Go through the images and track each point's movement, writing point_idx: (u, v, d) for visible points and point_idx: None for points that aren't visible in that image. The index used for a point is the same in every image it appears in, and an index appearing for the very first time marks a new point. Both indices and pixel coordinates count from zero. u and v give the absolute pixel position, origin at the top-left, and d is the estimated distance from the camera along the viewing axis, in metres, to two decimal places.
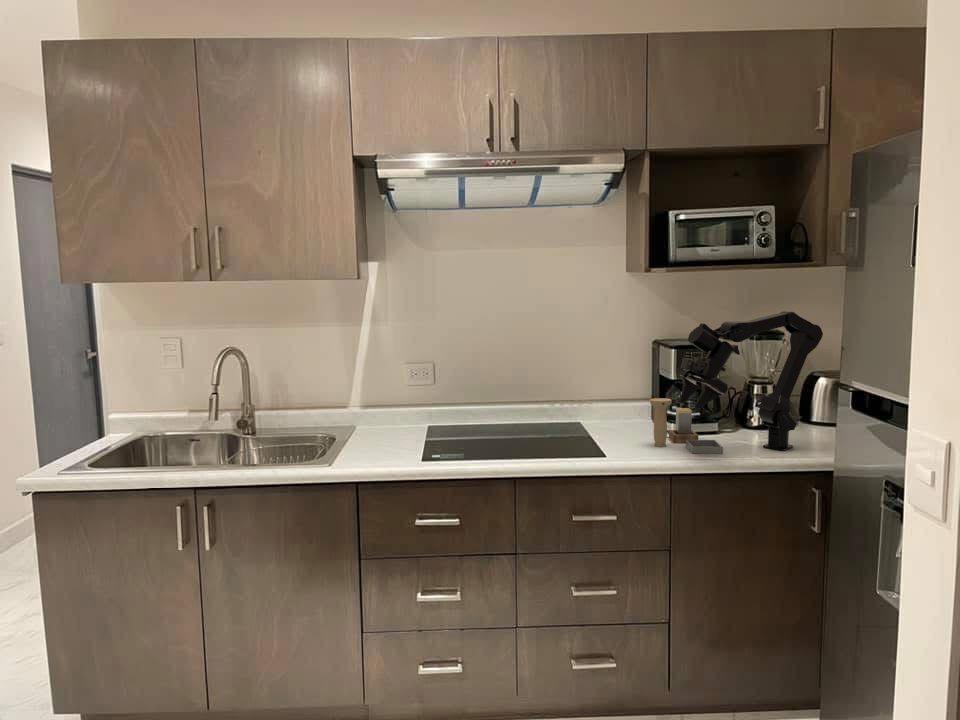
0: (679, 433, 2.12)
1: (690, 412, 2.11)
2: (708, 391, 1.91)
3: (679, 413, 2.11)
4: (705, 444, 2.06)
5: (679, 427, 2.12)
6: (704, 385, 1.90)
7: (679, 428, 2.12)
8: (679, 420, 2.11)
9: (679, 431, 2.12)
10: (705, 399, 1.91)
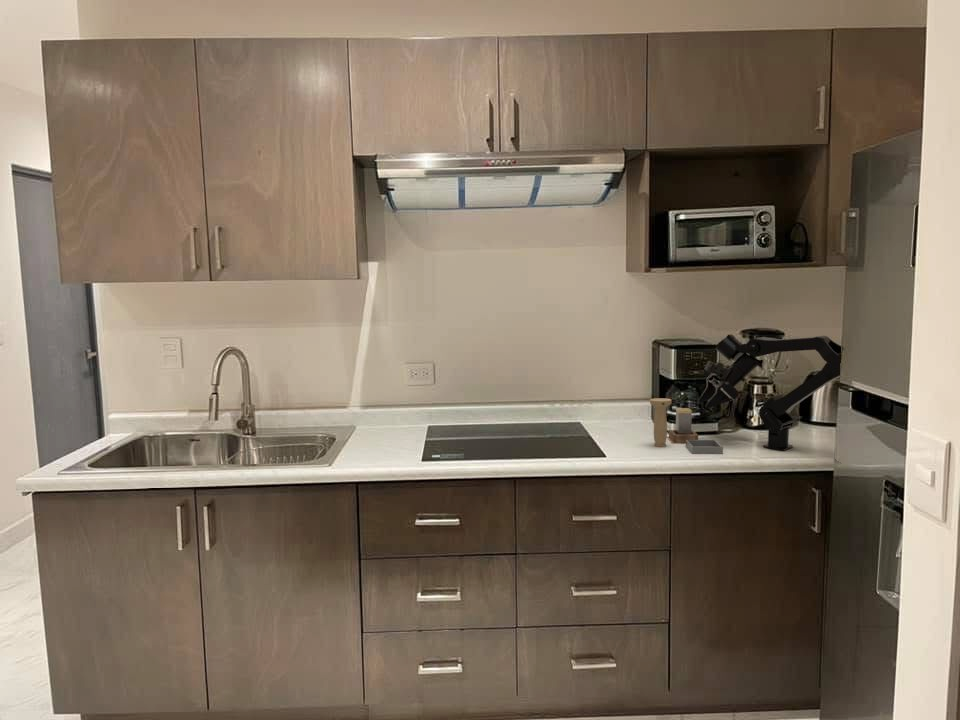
0: (679, 433, 2.12)
1: (690, 412, 2.11)
2: (720, 394, 2.06)
3: (679, 413, 2.11)
4: (705, 444, 2.06)
5: (679, 427, 2.12)
6: (717, 387, 2.05)
7: (679, 428, 2.12)
8: (679, 420, 2.11)
9: (679, 431, 2.12)
10: (716, 401, 2.07)
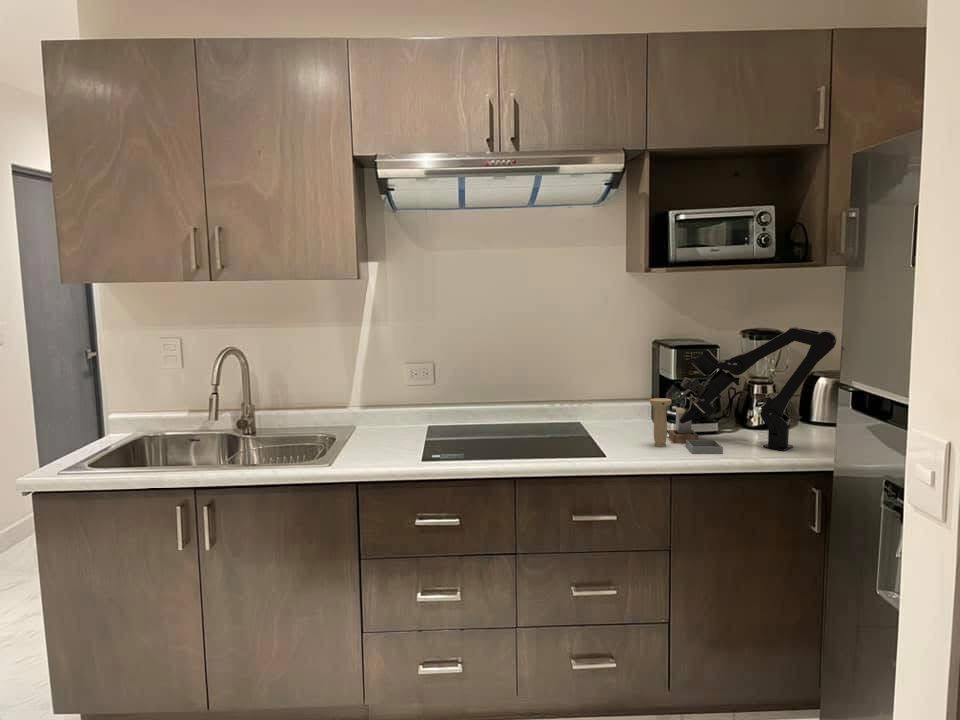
0: (679, 433, 2.12)
1: None
2: (695, 409, 2.09)
3: (679, 413, 2.11)
4: (705, 444, 2.06)
5: (679, 427, 2.12)
6: (691, 402, 2.08)
7: (679, 428, 2.12)
8: (679, 420, 2.11)
9: (679, 431, 2.12)
10: (690, 416, 2.10)
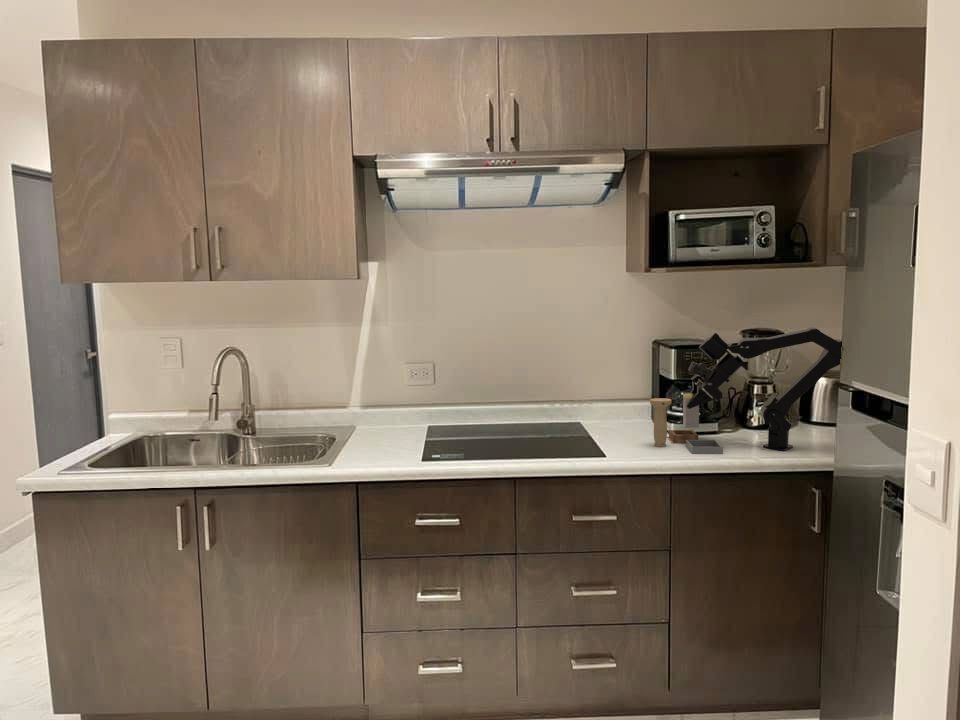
0: (686, 419, 2.07)
1: None
2: (702, 394, 2.04)
3: (686, 398, 2.07)
4: (705, 444, 2.06)
5: (686, 412, 2.07)
6: (698, 387, 2.03)
7: (686, 414, 2.07)
8: (686, 405, 2.07)
9: (686, 417, 2.07)
10: (698, 401, 2.05)
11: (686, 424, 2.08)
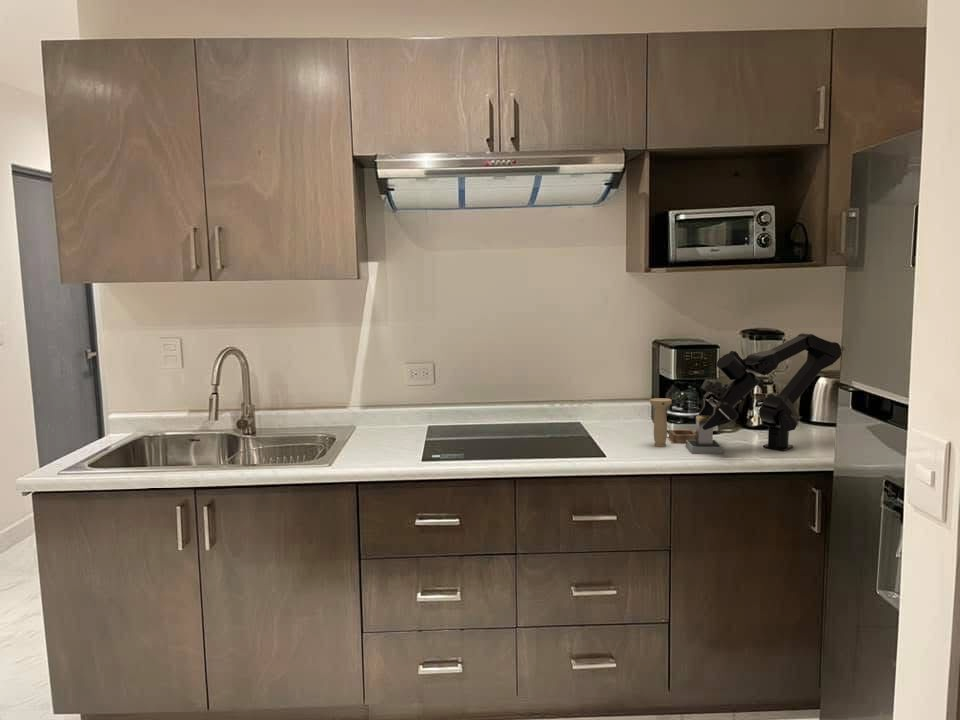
0: (700, 442, 2.00)
1: None
2: (719, 415, 1.94)
3: (700, 421, 1.99)
4: None
5: (700, 436, 2.00)
6: (715, 408, 1.93)
7: (700, 437, 2.00)
8: (700, 428, 1.99)
9: (700, 440, 2.00)
10: (714, 422, 1.95)
11: None
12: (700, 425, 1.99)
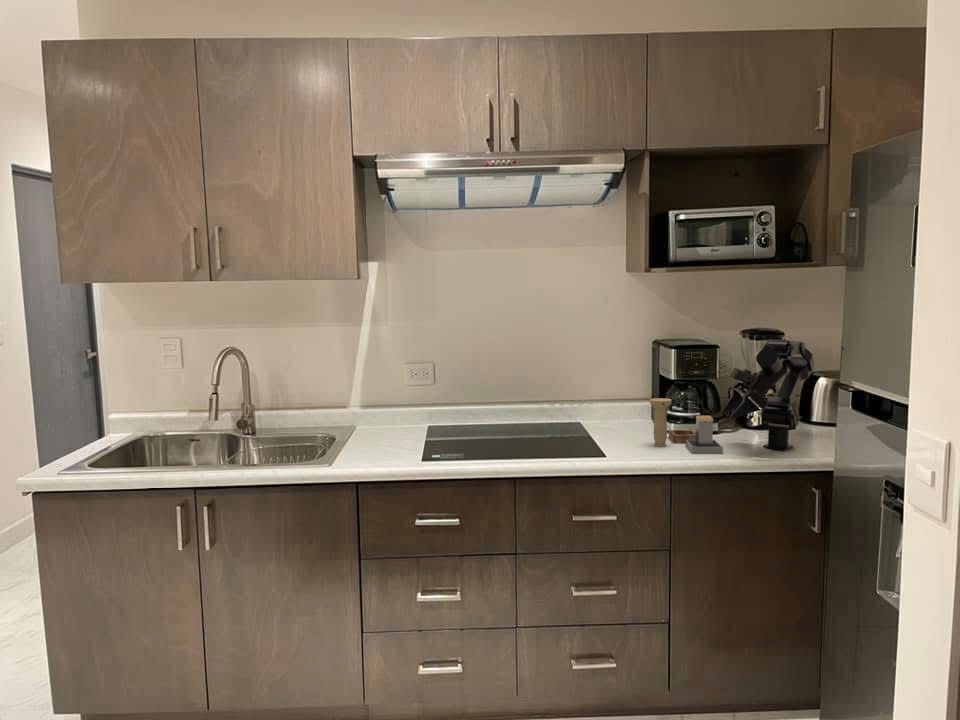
0: (700, 442, 2.00)
1: (711, 420, 1.99)
2: (748, 403, 1.94)
3: (700, 421, 1.99)
4: None
5: (700, 436, 2.00)
6: (744, 396, 1.92)
7: (700, 437, 2.00)
8: (700, 428, 1.99)
9: (700, 440, 2.00)
10: (743, 410, 1.94)
11: None
12: (700, 425, 1.99)
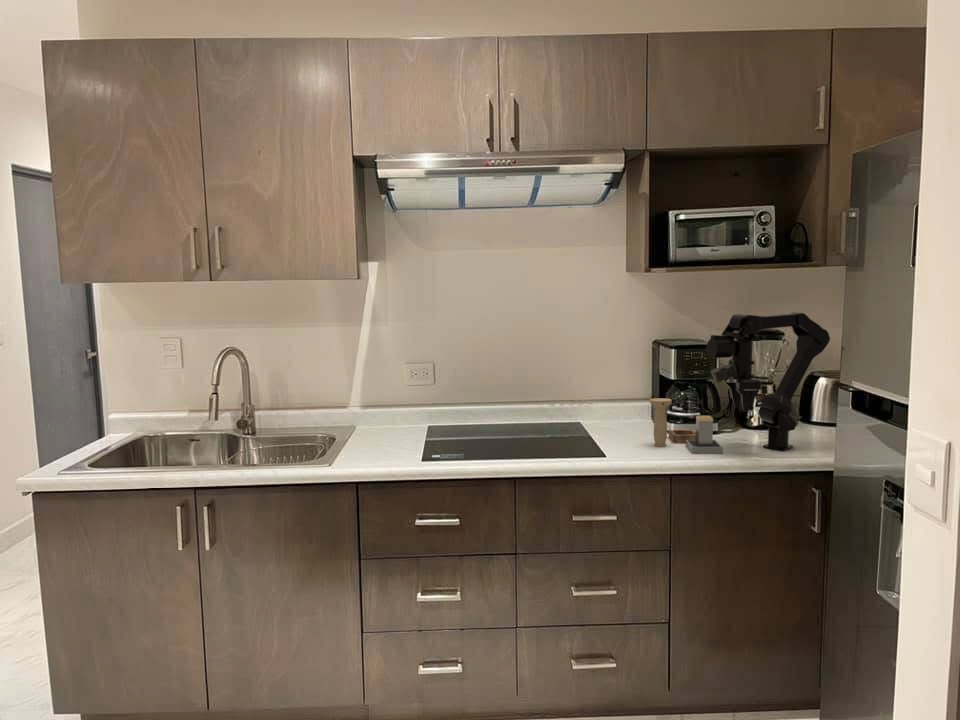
0: (700, 442, 2.00)
1: (711, 420, 1.99)
2: (746, 392, 1.94)
3: (700, 421, 1.99)
4: None
5: (700, 436, 2.00)
6: (738, 390, 1.93)
7: (700, 437, 2.00)
8: (700, 428, 1.99)
9: (700, 440, 2.00)
10: (748, 400, 1.94)
11: None
12: (700, 425, 1.99)
